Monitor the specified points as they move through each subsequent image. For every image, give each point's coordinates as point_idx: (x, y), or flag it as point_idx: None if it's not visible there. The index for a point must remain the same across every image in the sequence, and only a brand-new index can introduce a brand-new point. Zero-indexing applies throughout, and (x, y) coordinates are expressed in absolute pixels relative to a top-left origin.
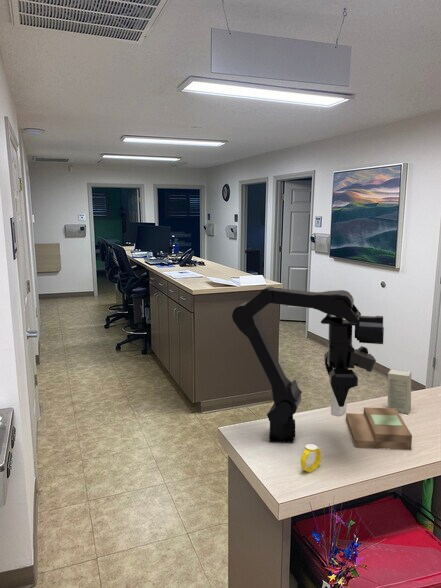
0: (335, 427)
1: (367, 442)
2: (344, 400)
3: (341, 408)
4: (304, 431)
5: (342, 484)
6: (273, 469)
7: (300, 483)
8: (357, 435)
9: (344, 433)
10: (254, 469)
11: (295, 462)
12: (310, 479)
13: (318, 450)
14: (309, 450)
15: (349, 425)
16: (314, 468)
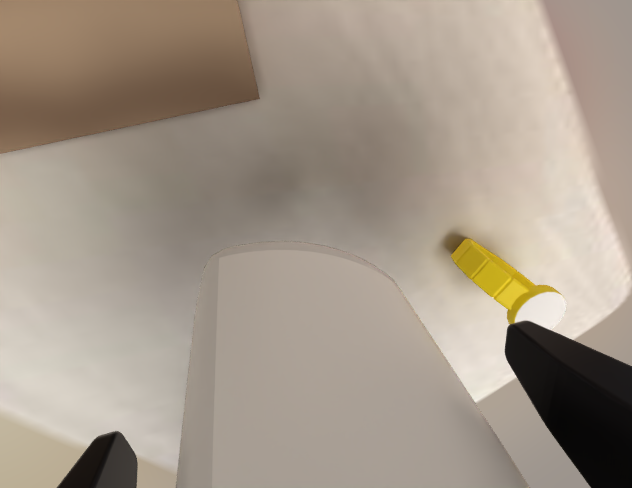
0: (47, 221)
1: (238, 9)
2: (624, 372)
3: (405, 308)
4: (178, 342)
5: (575, 132)
6: (484, 355)
7: (559, 269)
8: (184, 85)
9: (101, 163)
10: (486, 394)
11: (438, 311)
12: (539, 246)
13: (507, 275)
14: (560, 313)
15: (23, 146)
16: (481, 247)
